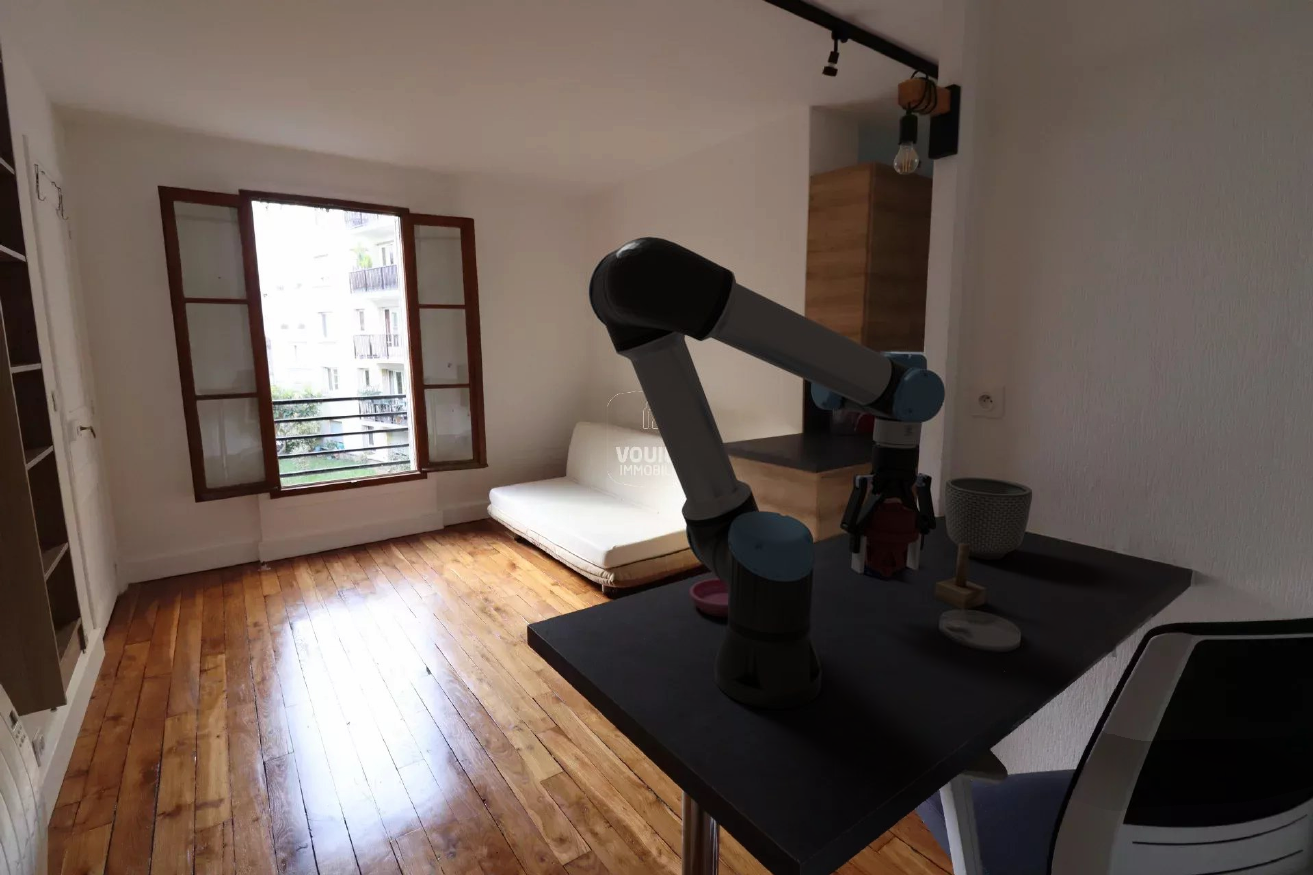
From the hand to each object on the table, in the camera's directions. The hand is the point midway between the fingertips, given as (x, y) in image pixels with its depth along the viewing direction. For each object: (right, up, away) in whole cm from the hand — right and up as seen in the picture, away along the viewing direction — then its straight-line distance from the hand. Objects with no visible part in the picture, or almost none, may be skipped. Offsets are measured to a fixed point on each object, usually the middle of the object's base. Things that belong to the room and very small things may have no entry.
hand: (884, 568), depth 108 cm
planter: (+35, -4, +33) cm, 48 cm away
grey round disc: (+14, -10, -6) cm, 18 cm away
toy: (+9, -5, +24) cm, 27 cm away
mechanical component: (0, -1, 0) cm, 1 cm away
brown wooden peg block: (+17, -8, +7) cm, 20 cm away
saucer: (-28, -8, +5) cm, 30 cm away
